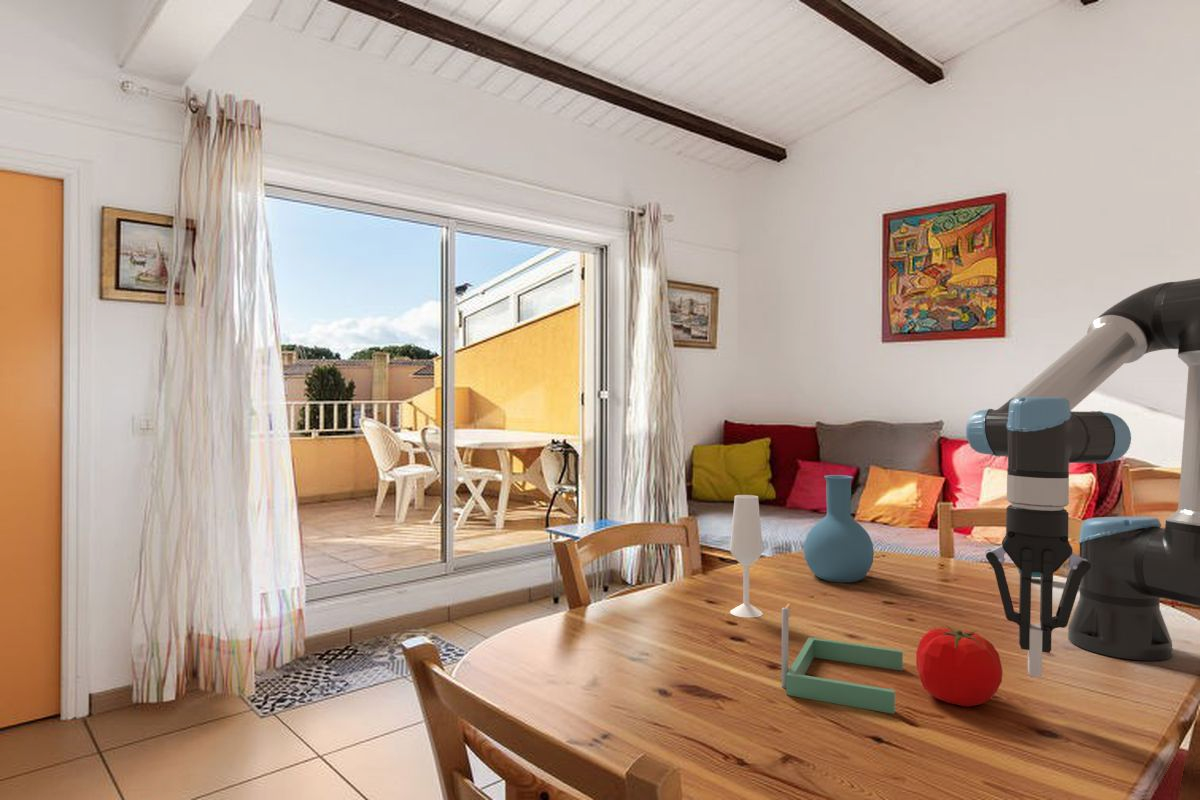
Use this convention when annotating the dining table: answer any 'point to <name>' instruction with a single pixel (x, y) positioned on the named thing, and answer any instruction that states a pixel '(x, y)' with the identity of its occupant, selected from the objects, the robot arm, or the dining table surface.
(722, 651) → the dining table surface
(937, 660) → the tomato
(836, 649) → the green u-shaped frame
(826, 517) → the vase
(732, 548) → the champagne flute
